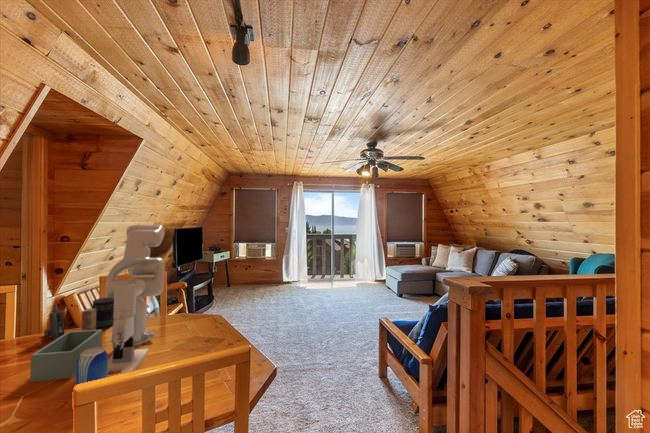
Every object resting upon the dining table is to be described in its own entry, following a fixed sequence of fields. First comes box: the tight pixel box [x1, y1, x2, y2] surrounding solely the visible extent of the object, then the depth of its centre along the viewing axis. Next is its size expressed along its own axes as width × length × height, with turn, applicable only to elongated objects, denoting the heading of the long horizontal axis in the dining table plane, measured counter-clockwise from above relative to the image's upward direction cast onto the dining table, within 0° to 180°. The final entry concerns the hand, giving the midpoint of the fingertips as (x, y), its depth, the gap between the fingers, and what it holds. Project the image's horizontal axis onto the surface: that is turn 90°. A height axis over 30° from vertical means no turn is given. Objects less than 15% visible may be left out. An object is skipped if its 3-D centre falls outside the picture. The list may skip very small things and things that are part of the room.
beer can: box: [75, 347, 109, 386], centre depth 96 cm, size 8×8×16 cm
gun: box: [43, 304, 66, 341], centre depth 141 cm, size 3×17×15 cm
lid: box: [107, 346, 150, 377], centre depth 117 cm, size 13×22×6 cm, turn 15°
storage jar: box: [92, 297, 114, 331], centre depth 156 cm, size 10×10×15 cm
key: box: [81, 308, 96, 331], centre depth 137 cm, size 4×4×16 cm
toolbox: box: [29, 330, 103, 383], centre depth 116 cm, size 13×22×10 cm, turn 15°
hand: (123, 353), depth 118 cm, fingers open, 9 cm apart
